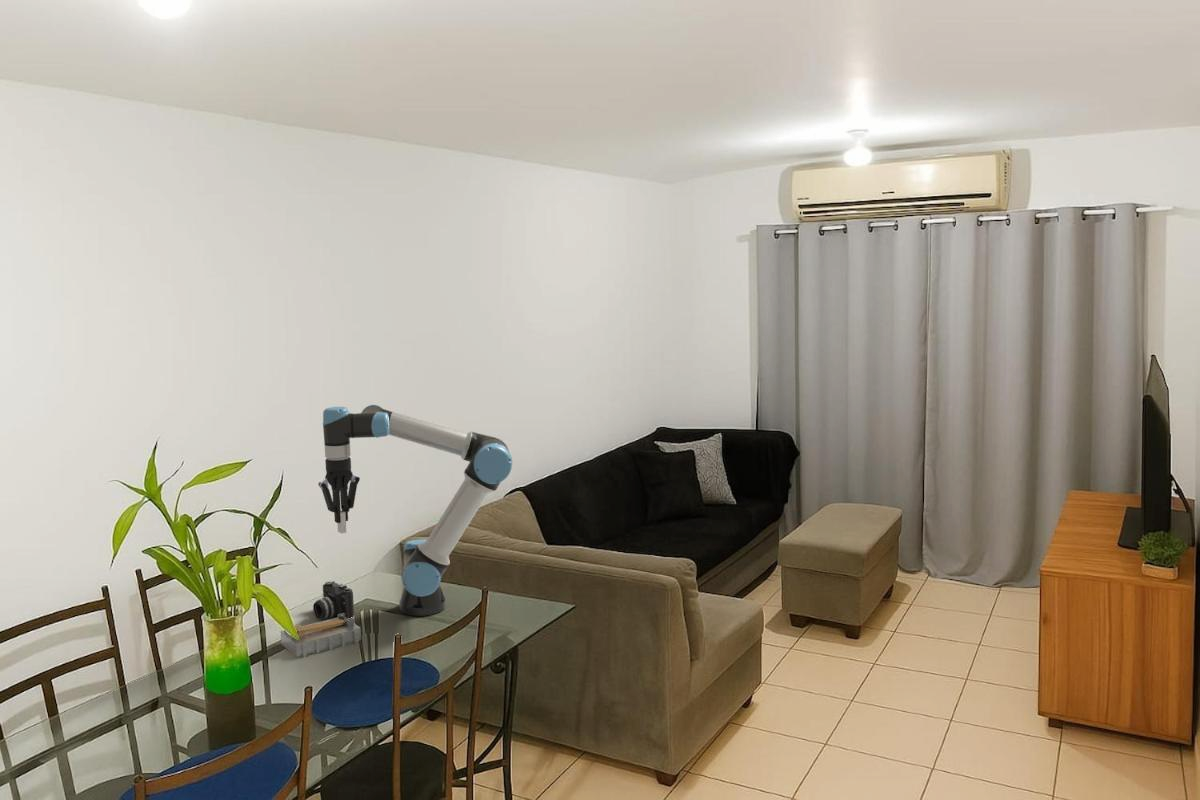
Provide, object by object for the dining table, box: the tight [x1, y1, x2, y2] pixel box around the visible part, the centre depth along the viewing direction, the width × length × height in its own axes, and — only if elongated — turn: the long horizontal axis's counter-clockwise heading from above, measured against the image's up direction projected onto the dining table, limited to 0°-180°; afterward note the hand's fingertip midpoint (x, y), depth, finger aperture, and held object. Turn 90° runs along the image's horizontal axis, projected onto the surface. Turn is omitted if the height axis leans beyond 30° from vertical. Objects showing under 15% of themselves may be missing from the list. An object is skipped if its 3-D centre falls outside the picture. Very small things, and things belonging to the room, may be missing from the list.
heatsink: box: [280, 613, 362, 658], centre depth 281 cm, size 20×14×6 cm
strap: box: [295, 617, 348, 635], centre depth 281 cm, size 17×5×1 cm, turn 130°
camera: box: [312, 580, 355, 620], centre depth 302 cm, size 14×11×10 cm
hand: (342, 532), depth 288 cm, fingers closed
